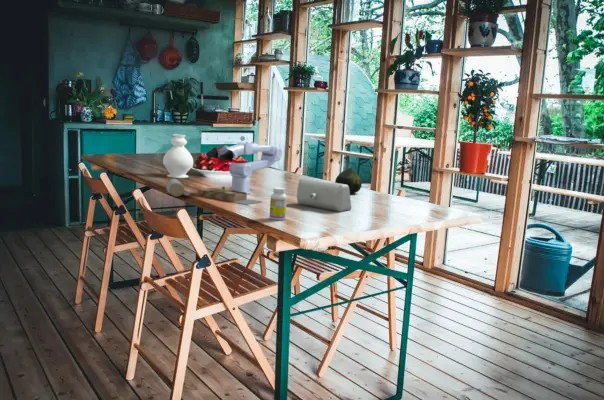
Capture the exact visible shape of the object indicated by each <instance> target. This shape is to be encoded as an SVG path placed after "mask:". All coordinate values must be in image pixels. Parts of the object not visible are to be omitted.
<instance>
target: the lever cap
mask: <svg viewBox="0 0 604 400" xmlns="http://www.w3.org/2000/svg"><path fill="white" fill-rule="evenodd" d="M213 188H214V191H219V192H225V193H229V192H231V190H232V188H229V187H227V186H219V187H213Z"/></svg>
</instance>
